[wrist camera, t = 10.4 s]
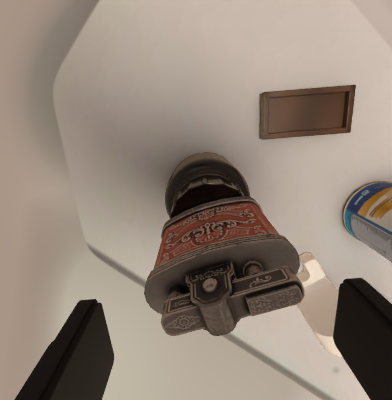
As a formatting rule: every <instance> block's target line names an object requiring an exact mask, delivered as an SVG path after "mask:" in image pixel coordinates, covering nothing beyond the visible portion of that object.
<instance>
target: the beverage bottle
mask: <svg viewBox="0 0 392 400" xmlns="http://www.w3.org/2000/svg"><path fill="white" fill-rule="evenodd" d="M343 220H344V224H345V227H346V229H347V230H348V231H349V233H350V234H351V235H353V236H354V237H355V238H357V239H359V240H360V241H362V242H364V243H365V244H367V245H368V246H369V247H371V248H372V249H374V250H375V251H377V252H378V253H379V254H381V255H382V256H384V257H385V258H386V259H388V260H389V261H391V262H392V183H388V182H376V183H371V184H368V185H366V186H364V187H362V188H360V189H359V190H358V191H356V192H355V193H354V194H353V195H352V196H351V198H350V199H349V200H348V202H347V204H346V206H345V209H344V214H343Z"/></svg>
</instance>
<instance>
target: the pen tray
mask: <svg viewBox="0 0 392 400" xmlns="http://www.w3.org/2000/svg"><path fill="white" fill-rule="evenodd" d="M355 88H356V85H347V86H335V87H323V88H311V89H298V90H286V91H274V92H264V93H262V94H260V139H275V138H287V137H300V136H313V135H325V134H338V133H350V132H351V123H352V114H353V105H354V96H355Z"/></svg>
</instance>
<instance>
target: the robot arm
mask: <svg viewBox="0 0 392 400" xmlns="http://www.w3.org/2000/svg"><path fill="white" fill-rule="evenodd" d="M333 340H334V343H335V346H336V347H337V349H338V350H339V352H340V353H341V355H342V357H343V358H344V360H345V361H346V363H347V364H348V366H349V367H350V369H351V370H352V372H353V373H354V375H355V376H356V378H357V380H358V381H359V383H360V384H361V386H362V387H363V389H364V390H365V392H366V393H367V395H368V396H369V398H370V399H371V400H392V304H391V303H390V302H389V301H388V300H386V299H385V298H384V297H383V296H382V295H381V294H380V293H379V292H378V291H376V290H375V289H374V288H373V287H372V286H371V285H370V284H369V283H368V282H366V281H365V280H364V279H363V278H353V279H345V280H344V281H343V283H342V284H340V287H339V294H338V302H337V309H336V317H335V324H334V332H333ZM113 362H114V353H113V348H112V345H111V340H110V336H109V332H108V328H107V324H106V320H105V316H104V312H103V308H102V304H101V303H97V300H96V299H91V300H81V301H79V302H78V303H77V305H76V306H75V308H74V310H73V311H72V313H71V314H70V316H69V318H68V319H67V321H66V322H65V324H64V326H63V327H62V329H61V330H60V332H59V334H58V335H57V337H56V339H55V340H54V341H53V342H51V344H50V345H49V346H48V348H47V349H46V351H45V352H44V354H43V356H42V357H41V359H40V361H39V362H38V364H37V365H36V367H35V368H34V370H33V371H32V373H31V375H30V376H29V378H28V379H27V381H26V382H25V384H24V386H23V387H22V389H21V390H20V392H19V394H18V395H17V397H16V399H15V400H102V397H103V394H104V391H105V388H106V385H107V382H108V379H109V375H110V372H111V369H112V366H113Z"/></svg>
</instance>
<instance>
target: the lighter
mask: <svg viewBox="0 0 392 400" xmlns="http://www.w3.org/2000/svg"><path fill="white" fill-rule="evenodd" d="M161 238H162V242H161V245H160V249H159V252H158V256H157V259H156V263H155V266H154V270H152V271H151V272H150V274H149V276H148V278H147V282H146V285H145V292H144V294H145V298H146V301H147V303H148V304H149V306H150V307H151V308H152V309H154V310H155V311H156V312H158V313H160V314H162V319H161V324H162V327H163V329H164V331H165V332H166V333H167V334H168V335H171V336H176V335H181V334H185V333H188V332H192V331H195V330H199V329H204V330H207V331H208V332H209V333H210V334H212V335H214V336H220V335H224V334H228V333H230V332H231V331H232V330H233V329H234V328H235V326H236V324H237V322H238V321H239V320H240V319H241V318H244V317H247V316H255V315H259V314H262V313H266V312H270V311H273V310H277V309H281V308H284V307H288V306H292V305H296V304H298V303H300V302H301V301H302V299H303V298H304V296H305V295H304V288H303V285H302V283H301V281H300V280H299V278H298V277H297V276H296V274H297V272H298V269H299V266H300V261H299V255H298V253H297V251H296V249H295V248H294V247H293V245H292V244H291V243H290V242H289V241H288V240H287V239H286V238H285V237H284V236H281V235H279V233H278V232H277V231H276V230H275V228H274V227H273V226H272V224H271V223H270V222H269V221H268V219H267V218H266V217H265V216H264V214H263V211H262V209H261V207H260V205H259V204H258V203H257V202H256V201H255V200H254V199H253V198H251V197H248V196H242V197H234V198H226V199H221V200H217V201H213V202H209V203H205V204H202V205H200V206H197V207H195V208H192V209H189V210H187V211H185V212H183V213H181V214H179V215H177V216H175V217H174V218H172V219H170V220H168V221H167V222H166V223H165V225H164V227H163V230H162V235H161Z"/></svg>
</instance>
